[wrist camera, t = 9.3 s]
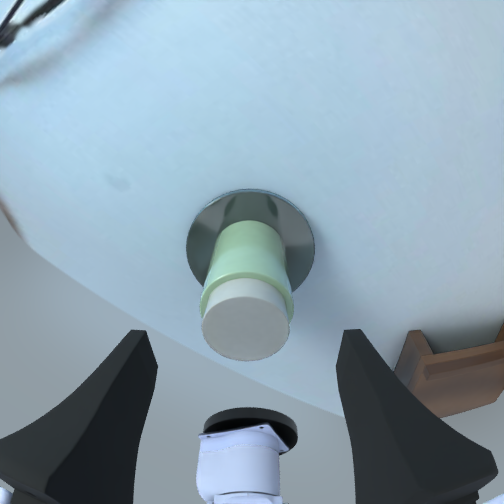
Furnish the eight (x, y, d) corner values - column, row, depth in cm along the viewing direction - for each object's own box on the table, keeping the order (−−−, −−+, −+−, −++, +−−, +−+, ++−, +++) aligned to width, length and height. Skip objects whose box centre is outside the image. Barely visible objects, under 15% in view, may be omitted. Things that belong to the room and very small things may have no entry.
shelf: (481, 377, 28) (498, 408, 23) (383, 396, 28) (395, 437, 24) (513, 315, 23) (538, 347, 19) (408, 330, 24) (430, 374, 19)
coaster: (221, 314, 23) (220, 319, 23) (165, 219, 20) (163, 222, 19) (328, 278, 22) (330, 282, 21) (286, 168, 18) (287, 170, 18)
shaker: (232, 291, 21) (222, 374, 15) (201, 235, 20) (175, 309, 13) (295, 269, 21) (309, 350, 14) (269, 208, 19) (274, 275, 12)
